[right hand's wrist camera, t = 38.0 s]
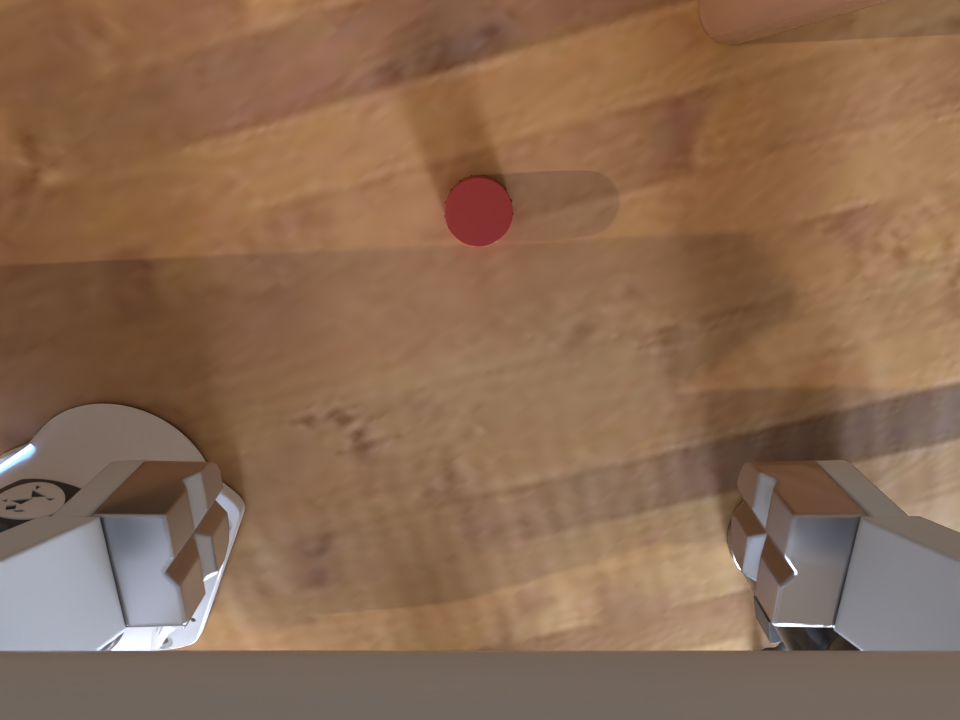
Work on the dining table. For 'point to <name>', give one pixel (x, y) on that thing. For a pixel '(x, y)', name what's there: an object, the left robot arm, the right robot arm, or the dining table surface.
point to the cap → (478, 211)
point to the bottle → (768, 16)
